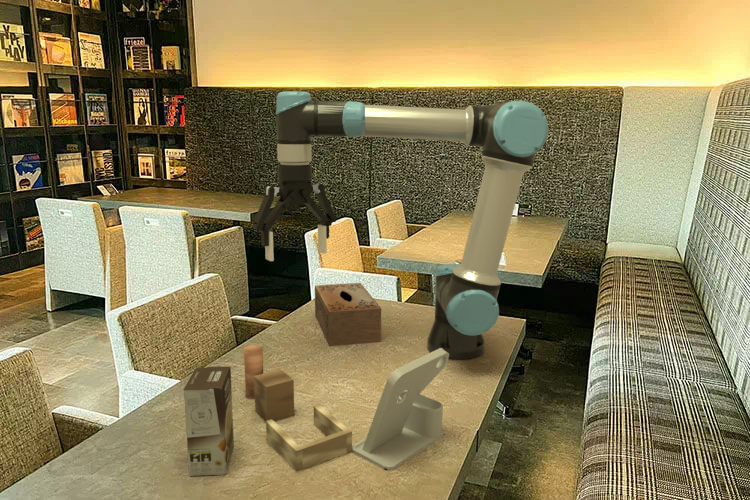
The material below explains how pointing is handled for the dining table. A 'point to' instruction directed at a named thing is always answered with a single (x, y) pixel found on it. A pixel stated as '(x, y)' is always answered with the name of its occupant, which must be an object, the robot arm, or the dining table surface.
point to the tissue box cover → (347, 314)
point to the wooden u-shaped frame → (317, 450)
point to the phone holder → (405, 415)
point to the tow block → (267, 387)
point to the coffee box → (209, 420)
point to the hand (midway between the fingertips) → (296, 256)
